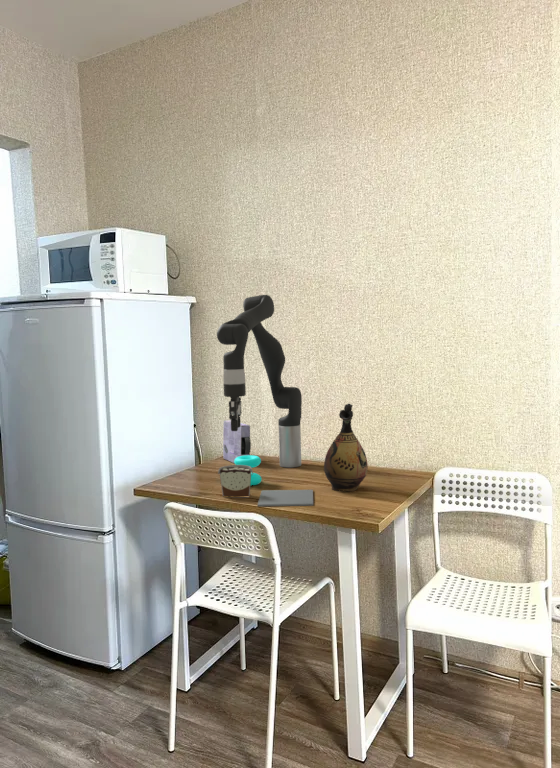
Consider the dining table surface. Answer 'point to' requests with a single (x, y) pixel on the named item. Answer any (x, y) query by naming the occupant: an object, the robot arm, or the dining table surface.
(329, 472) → the ceramic jug
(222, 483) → the food container
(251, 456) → the donuts
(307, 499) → the mat
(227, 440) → the cake pan box
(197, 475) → the dining table surface
